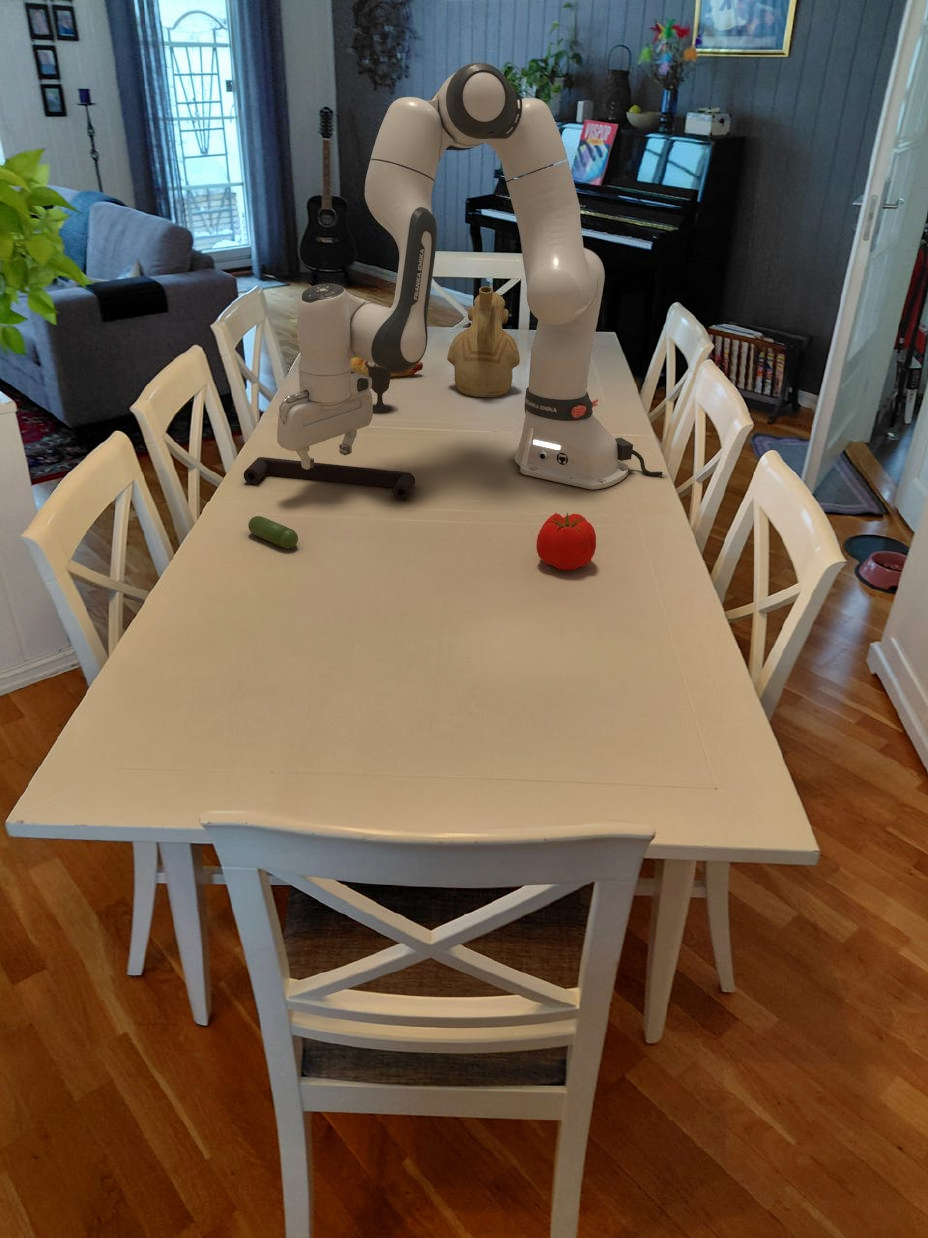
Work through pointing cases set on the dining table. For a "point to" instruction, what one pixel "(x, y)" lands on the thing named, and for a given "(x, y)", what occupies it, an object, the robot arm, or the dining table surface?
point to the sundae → (379, 384)
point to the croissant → (360, 368)
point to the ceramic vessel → (484, 349)
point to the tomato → (566, 541)
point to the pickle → (273, 532)
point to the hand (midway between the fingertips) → (327, 460)
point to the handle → (332, 474)
